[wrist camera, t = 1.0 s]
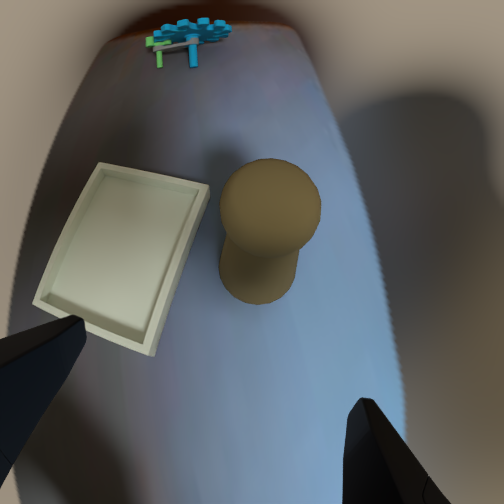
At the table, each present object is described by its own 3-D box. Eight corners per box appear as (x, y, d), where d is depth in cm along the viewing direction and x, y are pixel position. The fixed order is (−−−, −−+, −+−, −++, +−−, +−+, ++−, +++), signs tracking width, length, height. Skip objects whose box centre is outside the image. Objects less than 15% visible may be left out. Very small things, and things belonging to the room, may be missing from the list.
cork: (203, 257, 25) (185, 174, 14) (265, 219, 26) (283, 125, 16) (248, 320, 23) (260, 275, 13) (310, 275, 24) (361, 205, 14)
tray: (154, 356, 21) (147, 355, 20) (43, 308, 22) (32, 303, 20) (210, 196, 27) (209, 185, 25) (104, 173, 27) (99, 162, 25)
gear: (234, 31, 35) (225, 8, 26) (237, 69, 38) (228, 54, 29) (159, 43, 36) (132, 26, 27) (161, 79, 39) (133, 70, 29)
